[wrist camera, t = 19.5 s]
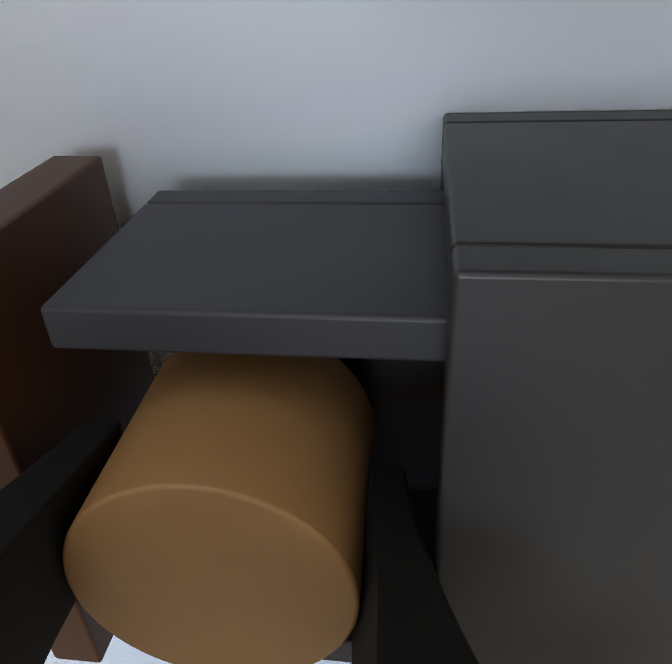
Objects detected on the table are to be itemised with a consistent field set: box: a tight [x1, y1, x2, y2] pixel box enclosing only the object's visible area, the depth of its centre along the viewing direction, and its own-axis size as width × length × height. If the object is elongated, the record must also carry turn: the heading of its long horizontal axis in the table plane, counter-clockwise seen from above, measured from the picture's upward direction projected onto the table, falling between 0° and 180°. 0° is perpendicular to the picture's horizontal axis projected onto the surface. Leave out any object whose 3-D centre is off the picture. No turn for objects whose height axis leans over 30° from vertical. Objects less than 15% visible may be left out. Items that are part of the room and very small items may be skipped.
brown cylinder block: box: [63, 352, 374, 664], centre depth 13 cm, size 5×5×5 cm
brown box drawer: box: [0, 156, 449, 662], centre depth 14 cm, size 17×10×6 cm, turn 93°
